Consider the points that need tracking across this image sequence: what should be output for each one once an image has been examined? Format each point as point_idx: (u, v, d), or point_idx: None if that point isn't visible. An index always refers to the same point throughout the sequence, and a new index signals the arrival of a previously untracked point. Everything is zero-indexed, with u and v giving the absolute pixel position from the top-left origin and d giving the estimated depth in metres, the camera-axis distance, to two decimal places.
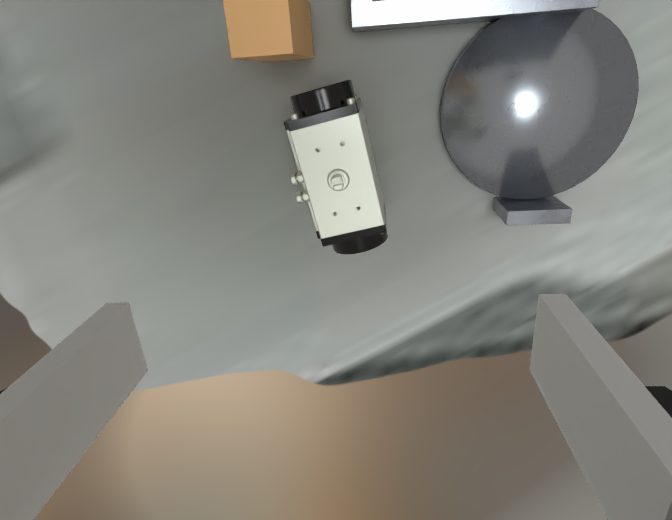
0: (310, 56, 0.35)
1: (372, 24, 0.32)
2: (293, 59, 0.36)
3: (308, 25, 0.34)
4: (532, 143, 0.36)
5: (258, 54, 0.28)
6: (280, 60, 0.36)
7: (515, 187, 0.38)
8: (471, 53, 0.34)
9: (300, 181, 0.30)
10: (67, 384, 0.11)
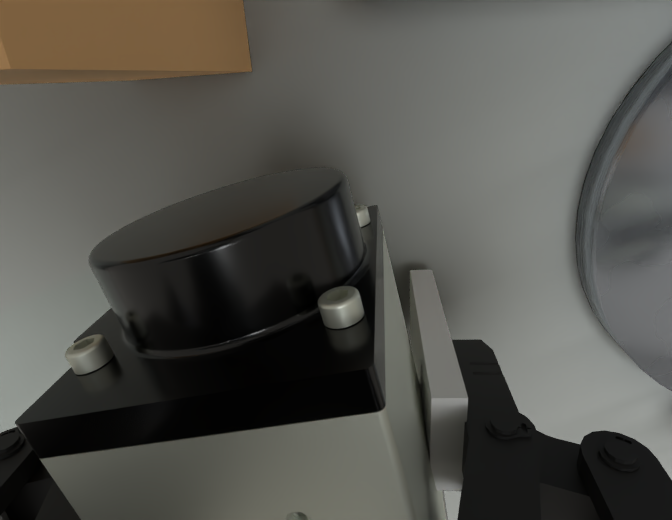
0: (232, 68, 0.12)
1: None
2: (194, 75, 0.13)
3: None
4: None
5: None
6: None
7: None
8: None
9: None
10: None
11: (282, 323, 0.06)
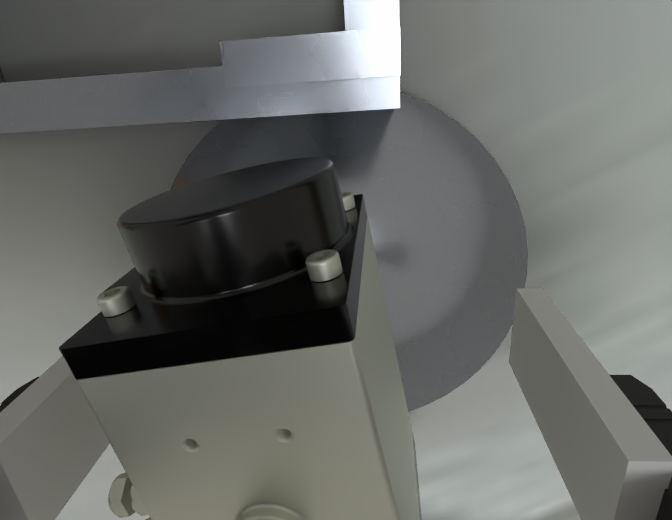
0: None
1: None
2: None
3: None
4: None
5: None
6: None
7: None
8: (189, 178, 0.17)
9: (143, 512, 0.09)
10: None
11: (276, 278, 0.07)
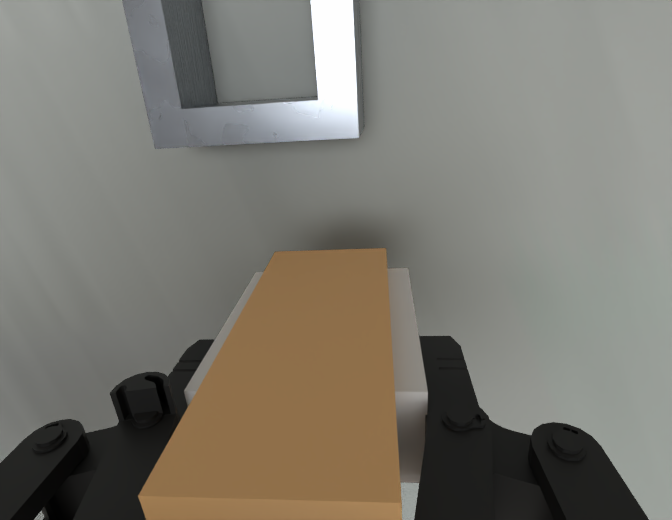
0: (385, 272, 0.14)
1: (355, 98, 0.17)
2: None
3: (316, 270, 0.14)
4: None
5: None
6: None
7: None
8: None
9: None
10: None
11: None
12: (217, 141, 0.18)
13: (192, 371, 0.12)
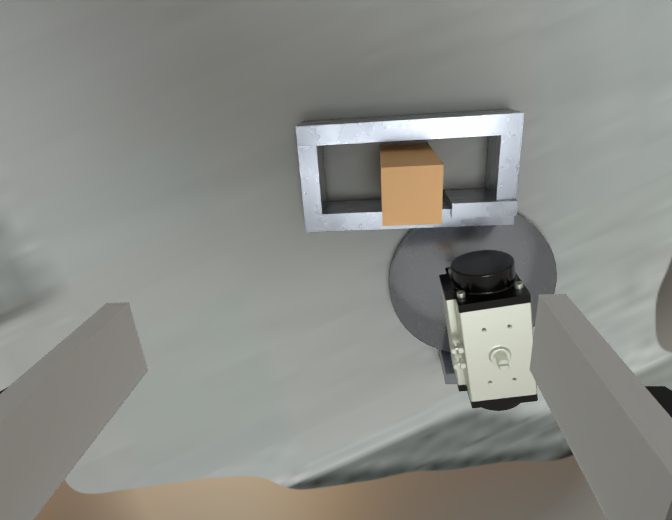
0: (428, 145, 0.35)
1: (323, 230, 0.37)
2: None
3: (401, 146, 0.36)
4: None
5: (441, 198, 0.29)
6: None
7: None
8: (411, 242, 0.39)
9: (460, 352, 0.31)
10: (67, 384, 0.11)
11: (506, 288, 0.30)
12: (301, 163, 0.35)
13: None
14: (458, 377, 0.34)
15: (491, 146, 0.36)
